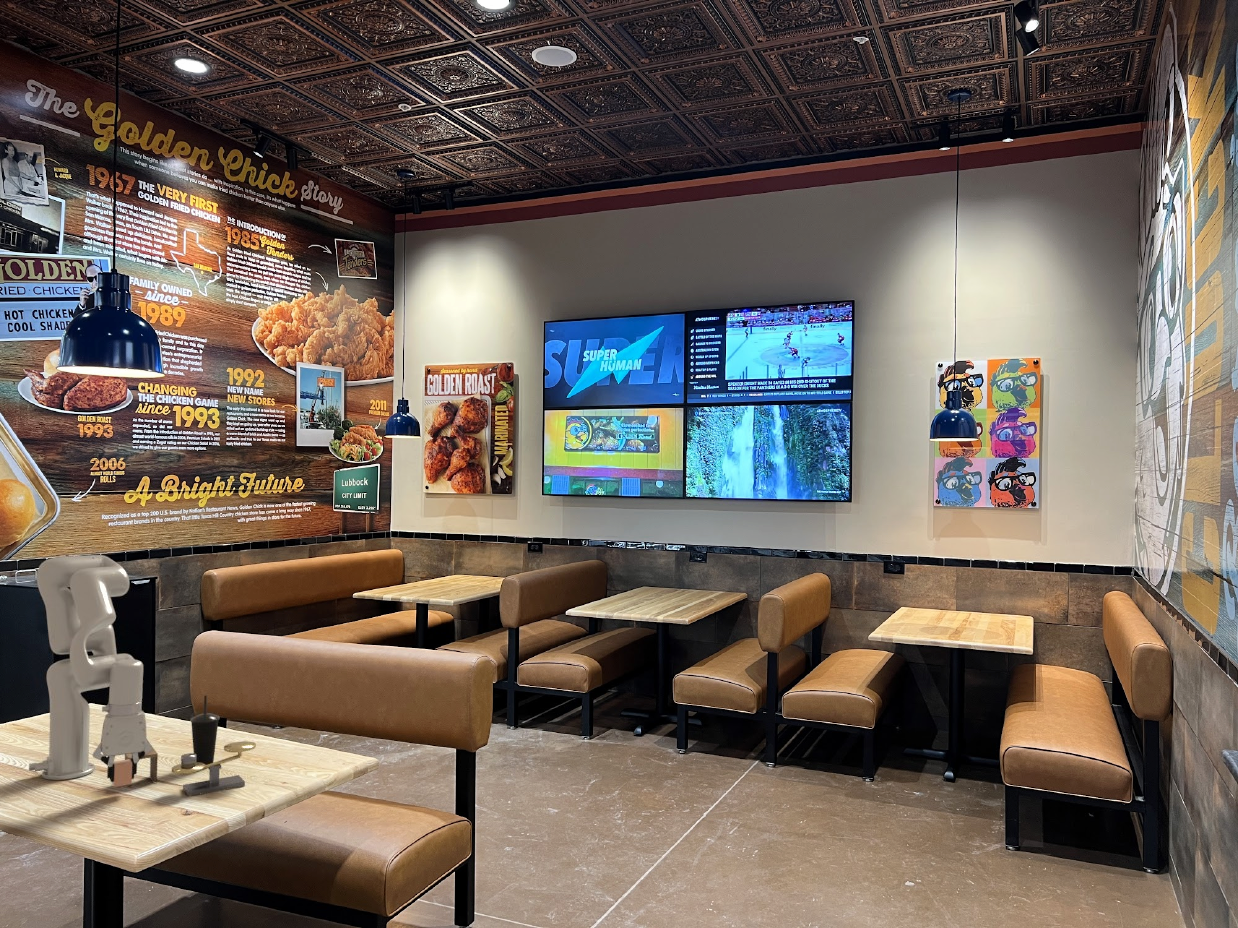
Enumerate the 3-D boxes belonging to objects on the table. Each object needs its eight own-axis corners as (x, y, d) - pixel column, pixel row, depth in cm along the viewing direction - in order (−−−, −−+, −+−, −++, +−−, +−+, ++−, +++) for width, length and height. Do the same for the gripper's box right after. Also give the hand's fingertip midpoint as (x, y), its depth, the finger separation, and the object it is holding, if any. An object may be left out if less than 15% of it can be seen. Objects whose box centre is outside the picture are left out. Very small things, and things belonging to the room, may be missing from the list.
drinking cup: (207, 770, 256) (208, 699, 256) (183, 768, 257) (184, 697, 258) (224, 762, 263) (225, 693, 264) (200, 760, 265) (202, 691, 265)
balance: (174, 799, 233) (175, 760, 233) (168, 790, 239) (169, 752, 239) (258, 784, 245) (259, 746, 245) (250, 776, 252) (251, 739, 252)
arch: (127, 787, 242) (128, 757, 242) (124, 781, 246) (124, 752, 246) (156, 782, 246) (157, 753, 246) (152, 776, 250) (153, 747, 251)
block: (114, 786, 233) (114, 764, 233) (111, 783, 236) (112, 761, 236) (131, 783, 235) (132, 762, 235) (129, 780, 238) (129, 759, 239)
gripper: (89, 716, 227) (86, 789, 228) (163, 708, 237) (160, 777, 237) (86, 708, 233) (82, 779, 234) (157, 700, 243) (154, 769, 243)
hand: (121, 777), depth 235 cm, fingers closed on block, 3 cm apart
